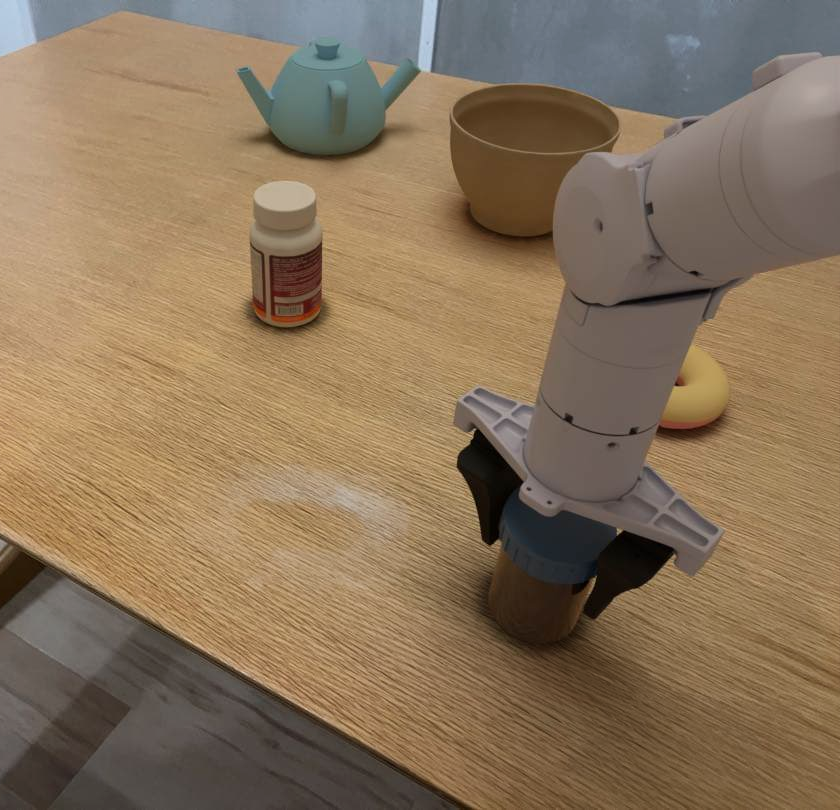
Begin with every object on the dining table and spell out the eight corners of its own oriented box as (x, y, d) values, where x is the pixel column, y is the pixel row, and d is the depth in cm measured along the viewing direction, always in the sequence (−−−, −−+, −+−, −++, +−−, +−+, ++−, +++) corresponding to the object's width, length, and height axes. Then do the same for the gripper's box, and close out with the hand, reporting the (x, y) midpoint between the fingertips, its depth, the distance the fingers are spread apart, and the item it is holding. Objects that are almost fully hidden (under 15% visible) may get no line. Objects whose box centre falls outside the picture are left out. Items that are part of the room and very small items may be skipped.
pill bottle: (334, 304, 74) (338, 190, 67) (295, 338, 71) (294, 221, 63) (279, 282, 77) (277, 170, 69) (239, 314, 73) (231, 199, 66)
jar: (594, 631, 49) (627, 553, 44) (513, 654, 48) (537, 577, 43) (549, 561, 53) (575, 482, 48) (473, 580, 52) (491, 502, 47)
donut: (638, 366, 71) (565, 391, 67) (652, 317, 69) (576, 339, 64) (746, 418, 64) (671, 450, 59) (765, 365, 62) (689, 394, 57)
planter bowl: (408, 201, 89) (417, 101, 81) (524, 168, 94) (543, 72, 87) (503, 273, 78) (524, 166, 71) (628, 231, 84) (659, 128, 77)
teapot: (360, 176, 93) (365, 75, 85) (235, 142, 100) (229, 47, 92) (419, 128, 103) (428, 34, 95) (301, 100, 110) (301, 10, 102)
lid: (601, 503, 48) (608, 483, 47) (618, 590, 44) (627, 570, 43) (495, 494, 49) (500, 473, 48) (501, 579, 44) (507, 559, 43)
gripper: (429, 361, 41) (406, 534, 50) (706, 526, 33) (619, 696, 42) (513, 305, 45) (477, 476, 54) (781, 441, 37) (686, 615, 46)
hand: (544, 569), depth 48 cm, fingers open, 6 cm apart
